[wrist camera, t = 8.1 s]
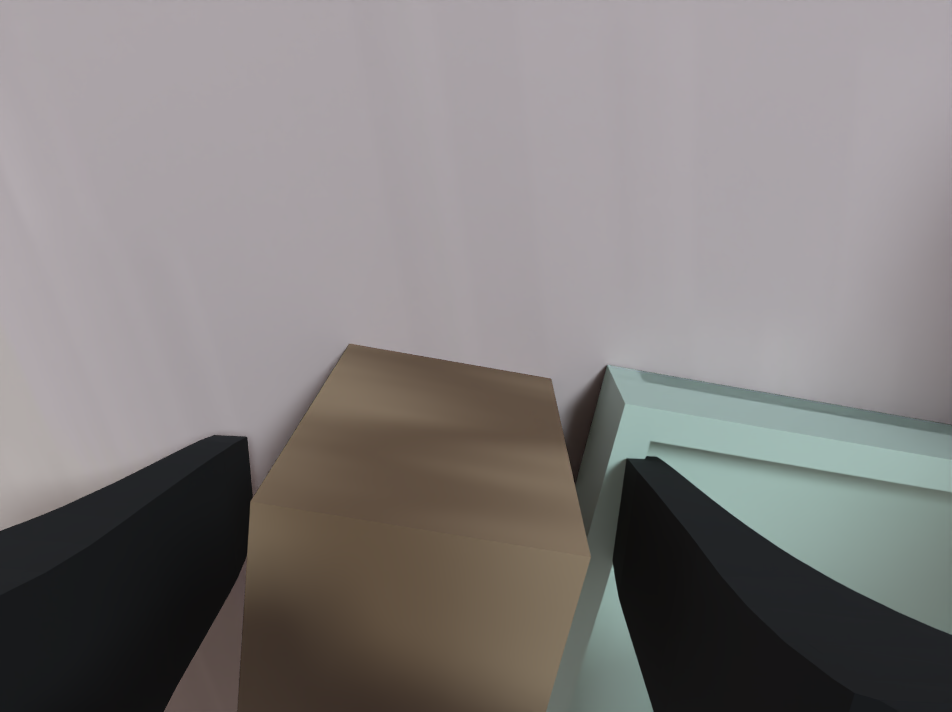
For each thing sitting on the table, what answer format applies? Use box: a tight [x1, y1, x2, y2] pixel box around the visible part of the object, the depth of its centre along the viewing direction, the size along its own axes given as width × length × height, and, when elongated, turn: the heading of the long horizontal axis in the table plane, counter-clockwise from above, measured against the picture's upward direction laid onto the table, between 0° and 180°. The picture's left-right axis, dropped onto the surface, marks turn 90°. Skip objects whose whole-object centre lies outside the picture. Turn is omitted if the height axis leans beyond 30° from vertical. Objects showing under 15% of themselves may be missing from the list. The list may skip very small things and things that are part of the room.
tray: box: [546, 365, 952, 712], centre depth 14 cm, size 10×12×2 cm
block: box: [237, 344, 591, 712], centre depth 11 cm, size 4×4×6 cm
